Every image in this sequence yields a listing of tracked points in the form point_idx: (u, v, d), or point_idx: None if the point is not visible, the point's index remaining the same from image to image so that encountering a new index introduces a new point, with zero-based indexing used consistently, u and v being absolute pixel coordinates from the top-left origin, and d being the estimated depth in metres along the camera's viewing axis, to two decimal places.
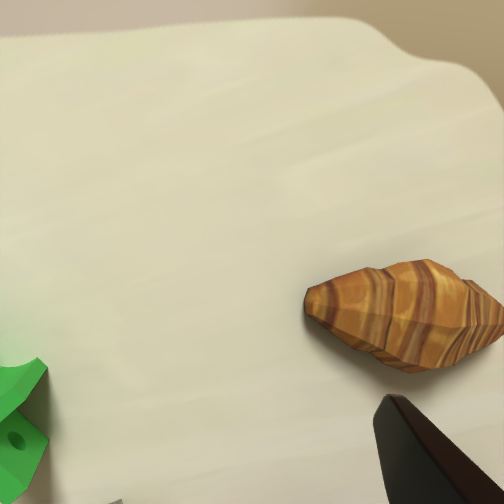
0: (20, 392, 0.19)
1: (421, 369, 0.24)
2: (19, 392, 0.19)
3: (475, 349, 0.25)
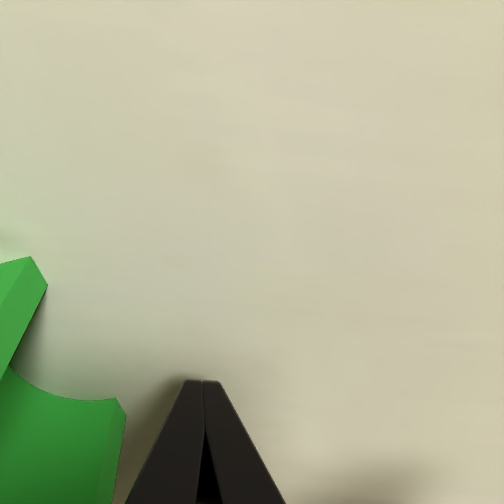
0: None
1: None
2: None
3: None
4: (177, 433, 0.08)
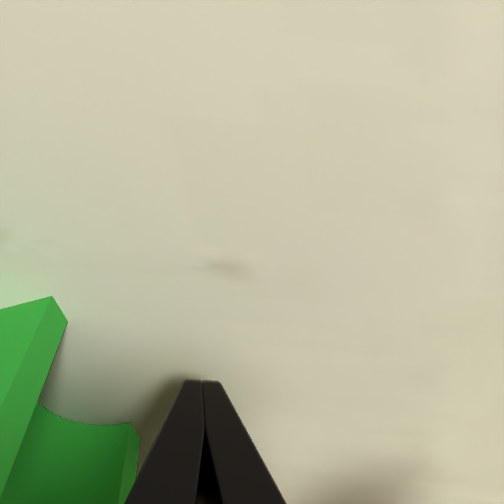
0: None
1: None
2: None
3: None
4: (177, 433, 0.08)
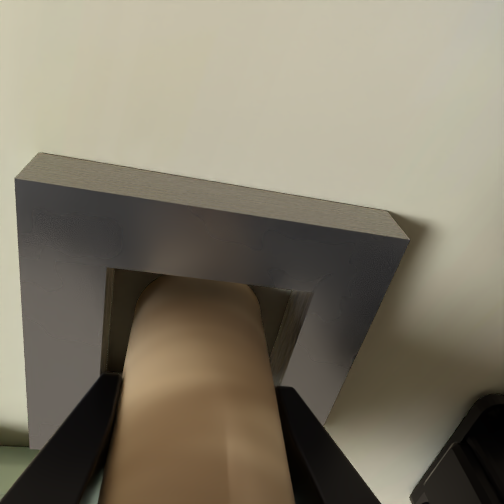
0: None
1: None
2: None
3: None
4: (78, 428, 0.08)
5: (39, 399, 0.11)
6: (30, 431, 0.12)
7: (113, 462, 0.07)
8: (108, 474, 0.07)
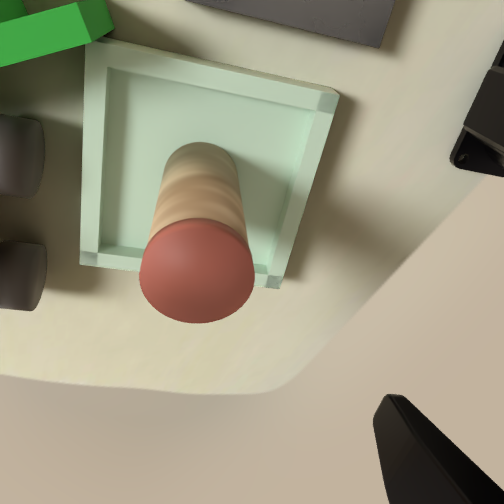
0: None
1: None
2: None
3: None
4: None
5: None
6: None
7: (159, 202, 0.16)
8: (157, 207, 0.16)
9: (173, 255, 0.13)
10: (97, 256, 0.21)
